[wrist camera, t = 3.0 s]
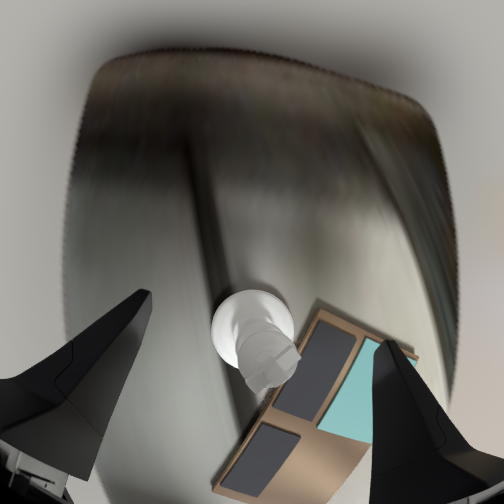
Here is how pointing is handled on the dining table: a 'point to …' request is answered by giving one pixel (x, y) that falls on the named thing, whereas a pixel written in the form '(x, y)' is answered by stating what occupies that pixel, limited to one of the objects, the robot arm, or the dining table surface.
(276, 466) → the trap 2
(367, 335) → the walnut board
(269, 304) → the chess piece
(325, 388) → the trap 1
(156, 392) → the dining table surface
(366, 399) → the pad
